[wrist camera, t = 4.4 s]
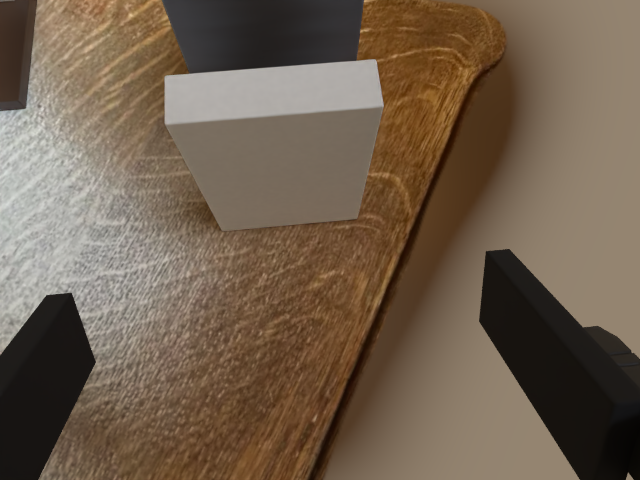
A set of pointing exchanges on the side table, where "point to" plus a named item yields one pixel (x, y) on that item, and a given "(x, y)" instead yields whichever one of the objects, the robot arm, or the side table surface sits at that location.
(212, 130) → the white book
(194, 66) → the grey rack
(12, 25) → the beige and brown bookend
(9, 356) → the robot arm
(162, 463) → the side table surface
